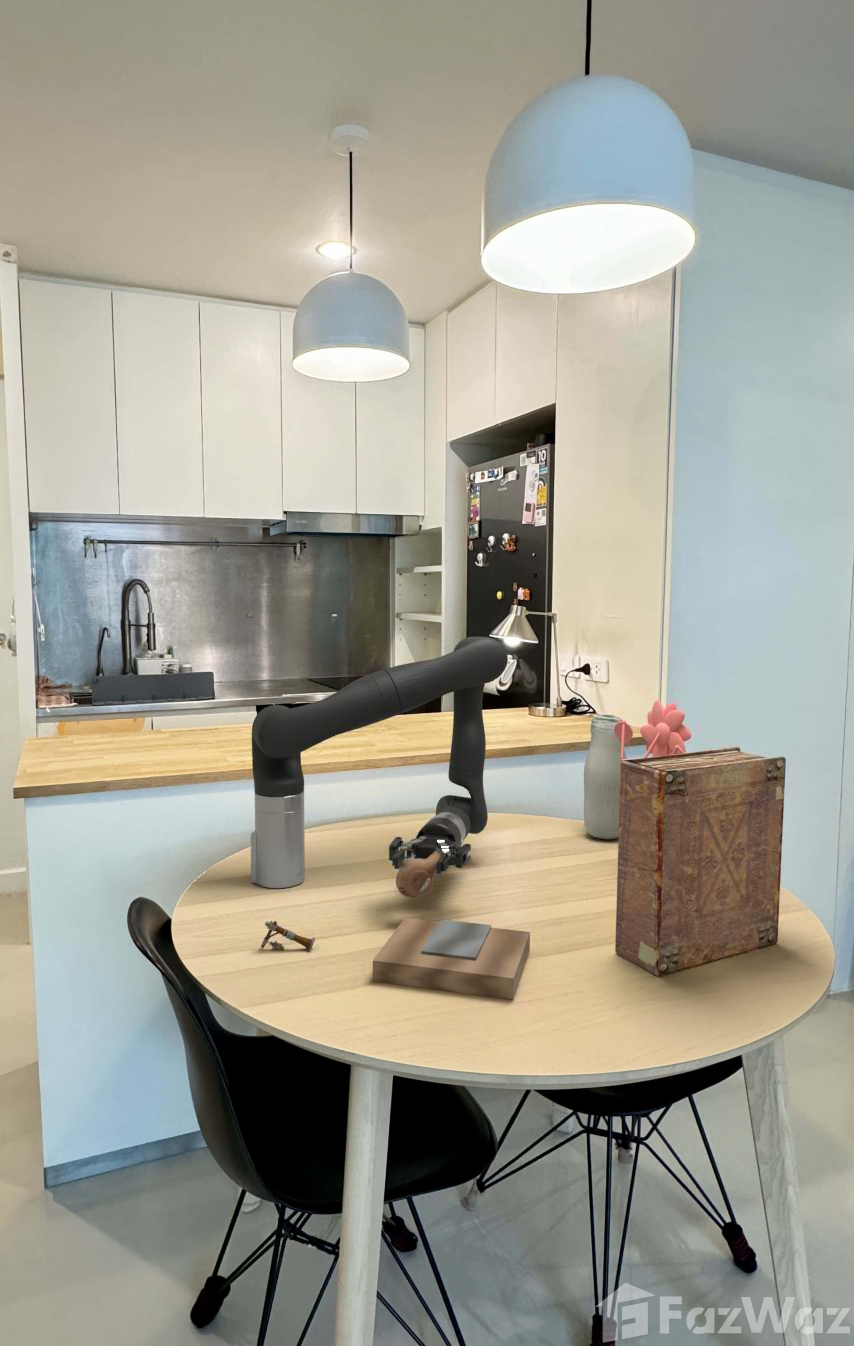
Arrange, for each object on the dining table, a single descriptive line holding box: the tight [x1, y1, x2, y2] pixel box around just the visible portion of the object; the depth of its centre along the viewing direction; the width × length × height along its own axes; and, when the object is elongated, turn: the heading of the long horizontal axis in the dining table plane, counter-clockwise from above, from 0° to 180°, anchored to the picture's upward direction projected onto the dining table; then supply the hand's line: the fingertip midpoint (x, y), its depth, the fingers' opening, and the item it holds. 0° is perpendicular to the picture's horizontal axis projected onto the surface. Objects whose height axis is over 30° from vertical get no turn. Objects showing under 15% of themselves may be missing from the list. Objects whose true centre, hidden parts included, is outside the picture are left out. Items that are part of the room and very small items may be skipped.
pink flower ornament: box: [614, 699, 692, 761], centre depth 156 cm, size 15×26×35 cm, turn 25°
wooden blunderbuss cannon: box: [260, 920, 316, 953], centre depth 127 cm, size 2×8×4 cm, turn 91°
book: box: [614, 746, 787, 978], centre depth 127 cm, size 25×9×30 cm, turn 118°
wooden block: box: [372, 917, 531, 1001], centre depth 122 cm, size 20×16×3 cm
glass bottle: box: [583, 714, 628, 840], centre depth 185 cm, size 10×10×28 cm
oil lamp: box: [395, 848, 444, 899], centre depth 138 cm, size 9×4×8 cm, turn 117°
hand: (417, 865), depth 135 cm, fingers closed on oil lamp, 6 cm apart
